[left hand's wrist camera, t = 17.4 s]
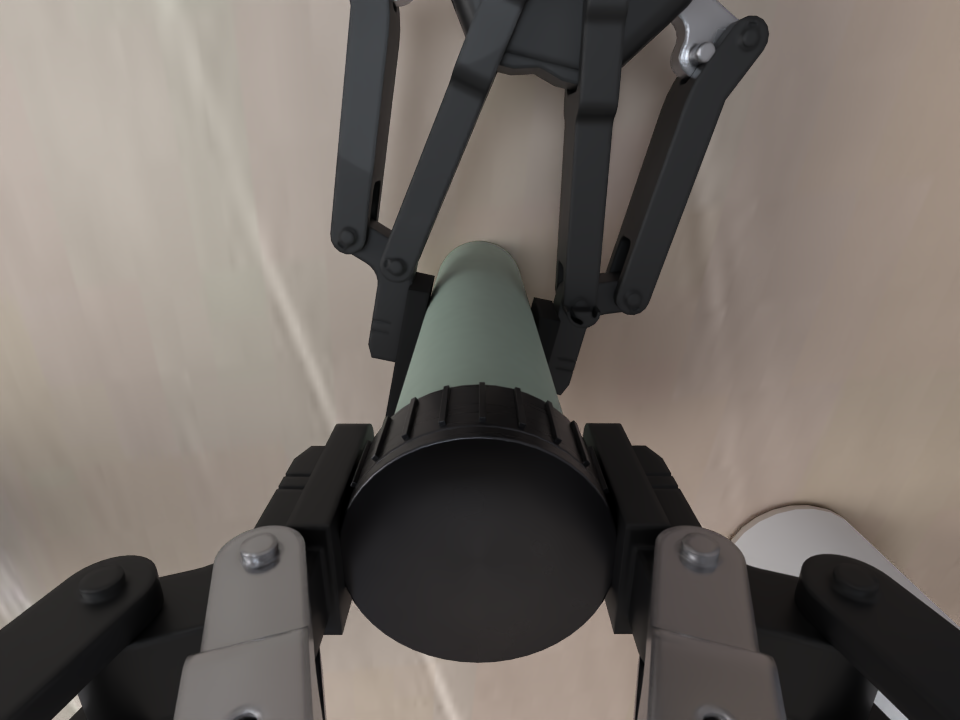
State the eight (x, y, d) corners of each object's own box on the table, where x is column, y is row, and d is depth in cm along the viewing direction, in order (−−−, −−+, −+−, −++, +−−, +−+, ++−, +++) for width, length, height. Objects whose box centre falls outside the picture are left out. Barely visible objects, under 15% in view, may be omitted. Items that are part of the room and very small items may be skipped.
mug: (791, 469, 31) (928, 615, 22) (895, 544, 33) (1062, 708, 24) (658, 592, 35) (727, 766, 25) (759, 654, 37) (858, 837, 27)
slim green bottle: (505, 228, 27) (555, 403, 9) (531, 307, 28) (620, 592, 10) (425, 257, 27) (322, 477, 9) (454, 332, 29) (414, 648, 11)
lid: (308, 451, 11) (272, 515, 9) (528, 333, 10) (540, 377, 8) (437, 616, 12) (430, 700, 11) (638, 527, 12) (669, 601, 10)
